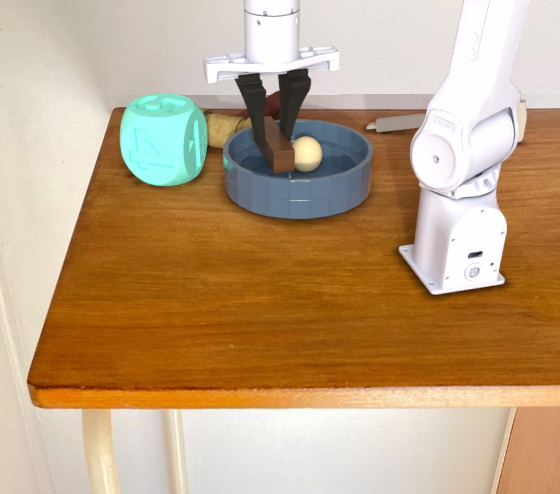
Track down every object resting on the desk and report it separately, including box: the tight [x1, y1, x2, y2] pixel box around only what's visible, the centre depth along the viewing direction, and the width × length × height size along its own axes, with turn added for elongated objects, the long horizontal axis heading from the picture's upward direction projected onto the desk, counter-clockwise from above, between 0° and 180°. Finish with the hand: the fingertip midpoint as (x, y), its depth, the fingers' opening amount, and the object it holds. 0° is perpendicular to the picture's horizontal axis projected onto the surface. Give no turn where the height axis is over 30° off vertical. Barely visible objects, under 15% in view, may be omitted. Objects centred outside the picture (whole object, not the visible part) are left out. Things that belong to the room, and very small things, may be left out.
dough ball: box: [292, 136, 322, 172], centre depth 102 cm, size 4×4×4 cm
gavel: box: [199, 90, 280, 150], centre depth 113 cm, size 21×5×10 cm
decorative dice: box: [119, 92, 208, 187], centre depth 101 cm, size 8×8×8 cm
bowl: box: [222, 118, 375, 220], centre depth 99 cm, size 17×17×5 cm
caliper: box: [365, 97, 528, 143], centre depth 110 cm, size 20×1×6 cm, turn 77°
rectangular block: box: [251, 116, 295, 174], centre depth 96 cm, size 10×2×2 cm, turn 16°
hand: (272, 142), depth 96 cm, fingers closed on rectangular block, 2 cm apart
